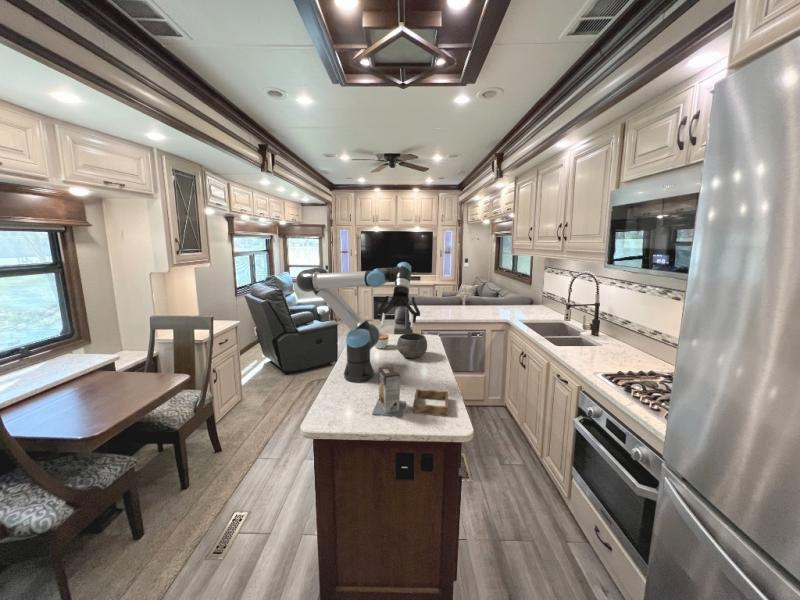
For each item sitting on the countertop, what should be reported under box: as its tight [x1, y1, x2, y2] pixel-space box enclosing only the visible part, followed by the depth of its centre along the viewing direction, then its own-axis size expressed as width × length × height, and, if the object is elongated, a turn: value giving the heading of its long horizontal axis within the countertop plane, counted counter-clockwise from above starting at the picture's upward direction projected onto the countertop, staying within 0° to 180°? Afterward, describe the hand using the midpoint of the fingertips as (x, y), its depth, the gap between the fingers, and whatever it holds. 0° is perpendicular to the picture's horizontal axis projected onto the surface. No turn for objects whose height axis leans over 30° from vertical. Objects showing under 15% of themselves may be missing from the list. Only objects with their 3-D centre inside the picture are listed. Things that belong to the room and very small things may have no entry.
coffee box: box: [378, 365, 401, 413], centre depth 133 cm, size 9×6×16 cm
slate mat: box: [371, 398, 406, 418], centre depth 135 cm, size 12×12×1 cm
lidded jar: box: [374, 332, 389, 350], centre depth 208 cm, size 11×11×9 cm
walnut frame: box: [412, 388, 449, 417], centre depth 137 cm, size 14×14×4 cm
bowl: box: [396, 332, 428, 359], centre depth 192 cm, size 18×18×13 cm
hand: (396, 327), depth 147 cm, fingers open, 13 cm apart
